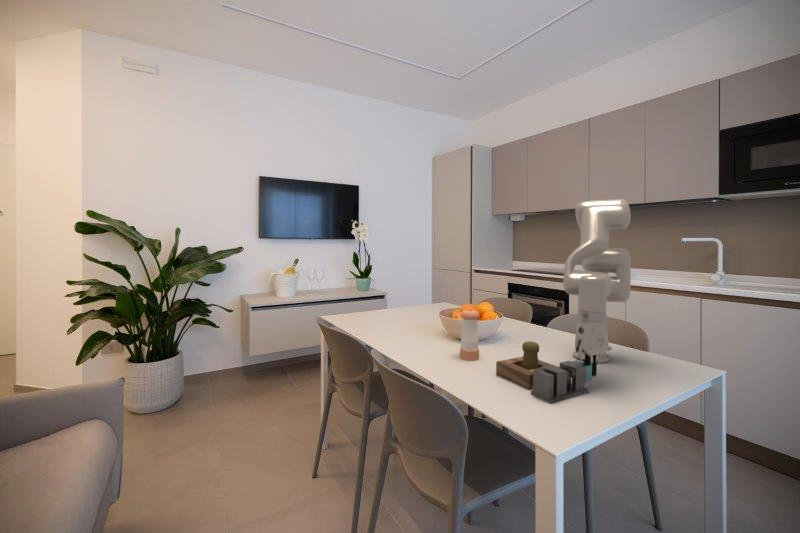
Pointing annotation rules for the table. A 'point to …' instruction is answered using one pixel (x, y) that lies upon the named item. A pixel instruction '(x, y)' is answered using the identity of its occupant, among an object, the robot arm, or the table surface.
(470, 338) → the salt shaker
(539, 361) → the walnut holder
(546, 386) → the shaft bracket
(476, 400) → the table surface
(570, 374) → the steel shaft
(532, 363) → the olive brown pear shape
